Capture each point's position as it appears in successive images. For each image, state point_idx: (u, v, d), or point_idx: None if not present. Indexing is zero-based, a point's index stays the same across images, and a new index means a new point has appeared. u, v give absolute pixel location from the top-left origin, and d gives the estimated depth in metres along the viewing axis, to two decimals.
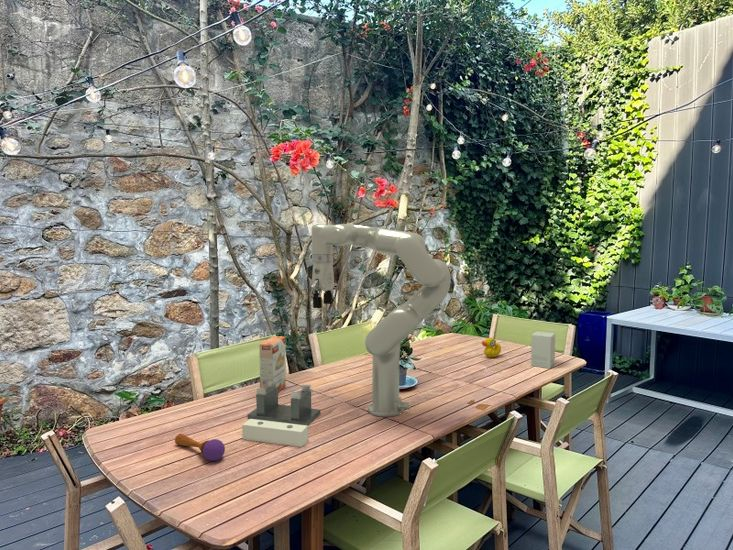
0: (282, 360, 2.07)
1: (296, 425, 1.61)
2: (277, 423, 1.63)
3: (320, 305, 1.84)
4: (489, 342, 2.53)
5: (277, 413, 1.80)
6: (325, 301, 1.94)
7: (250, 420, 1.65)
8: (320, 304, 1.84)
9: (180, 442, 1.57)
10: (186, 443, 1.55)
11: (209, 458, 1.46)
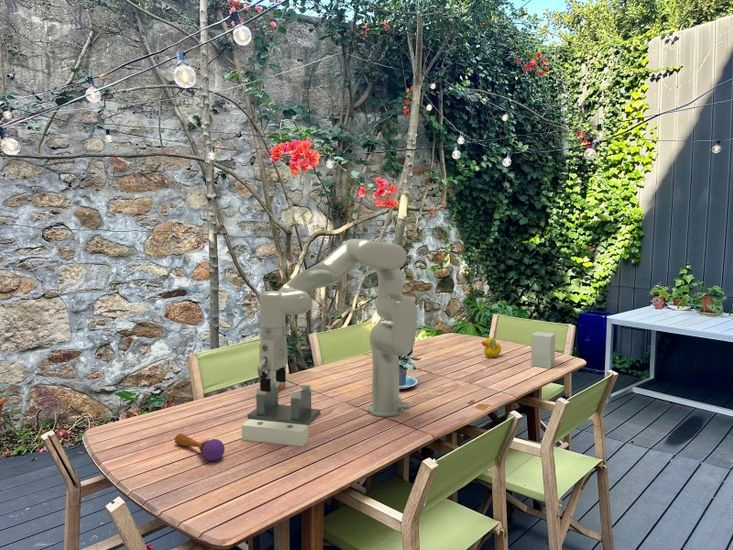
0: None
1: (296, 425, 1.62)
2: (277, 423, 1.63)
3: (269, 388, 1.55)
4: (489, 342, 2.53)
5: (277, 413, 1.80)
6: (277, 379, 1.65)
7: (249, 420, 1.65)
8: (269, 387, 1.55)
9: (180, 442, 1.57)
10: (186, 443, 1.55)
11: (209, 458, 1.46)
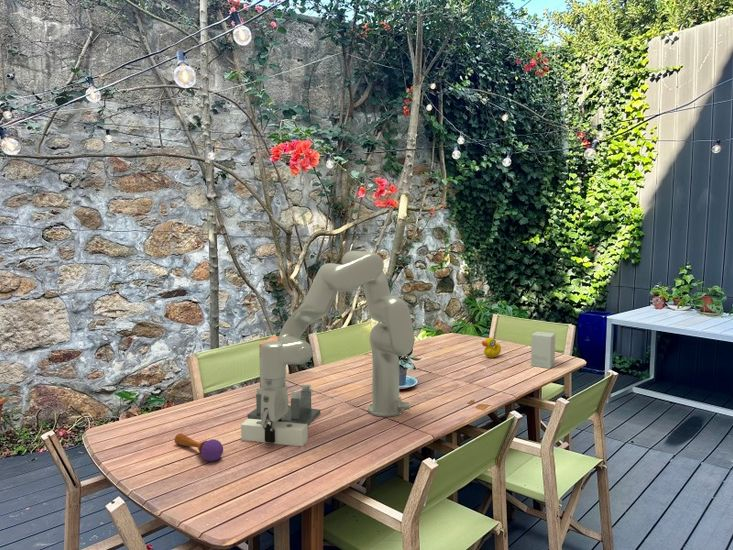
0: None
1: (296, 424, 1.62)
2: (276, 422, 1.63)
3: (273, 439, 1.58)
4: (489, 342, 2.53)
5: None
6: None
7: (248, 420, 1.65)
8: (273, 438, 1.58)
9: (179, 442, 1.57)
10: (185, 443, 1.55)
11: (207, 458, 1.46)
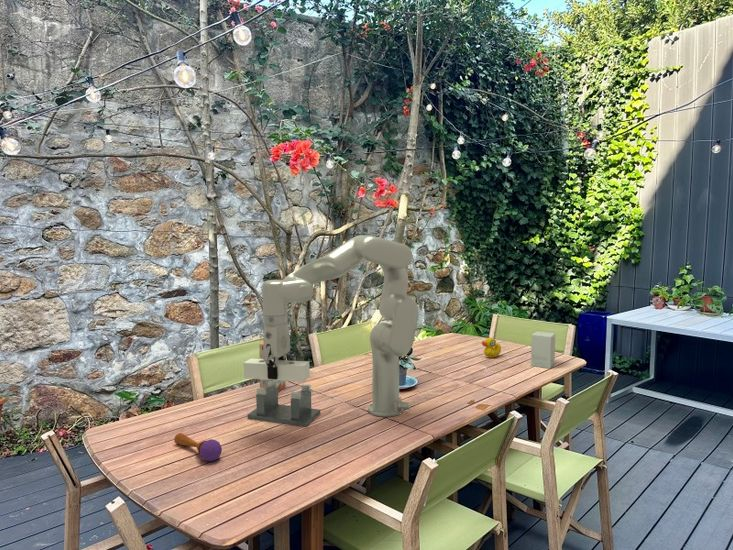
0: None
1: (297, 361, 1.64)
2: (278, 360, 1.66)
3: (276, 376, 1.61)
4: (489, 342, 2.53)
5: (277, 413, 1.80)
6: None
7: (251, 359, 1.67)
8: (275, 375, 1.61)
9: (179, 441, 1.57)
10: (185, 443, 1.56)
11: (205, 458, 1.46)
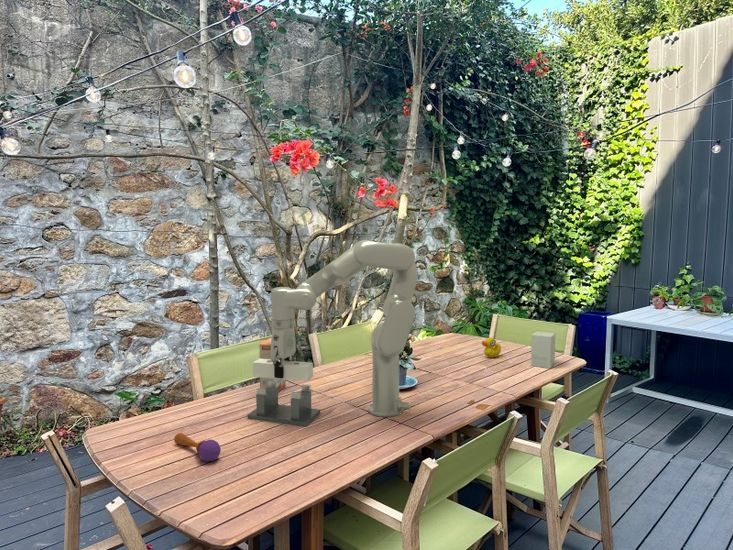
0: None
1: (302, 362, 1.79)
2: (284, 361, 1.81)
3: (282, 375, 1.76)
4: (489, 342, 2.53)
5: (277, 413, 1.80)
6: None
7: (259, 359, 1.82)
8: (282, 374, 1.76)
9: (179, 441, 1.57)
10: (184, 442, 1.56)
11: (204, 458, 1.46)
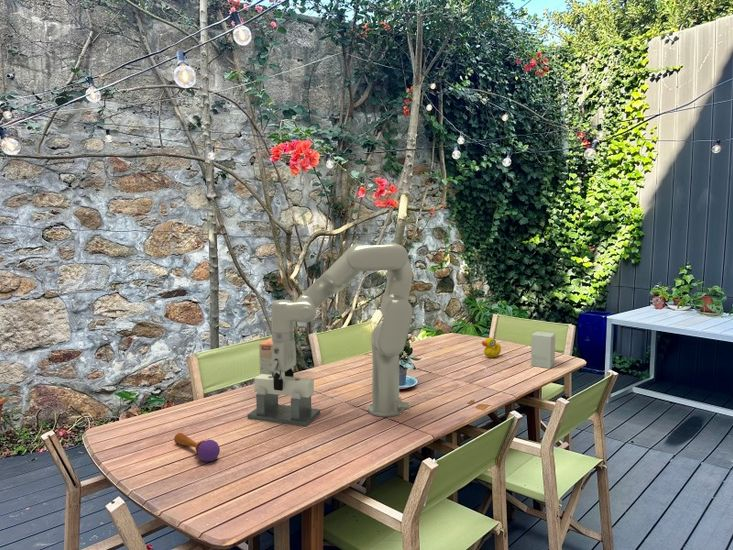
0: None
1: (303, 378, 1.79)
2: (286, 377, 1.81)
3: (281, 387, 1.75)
4: (489, 342, 2.53)
5: (277, 413, 1.80)
6: None
7: (261, 375, 1.83)
8: (281, 386, 1.75)
9: (179, 441, 1.57)
10: (184, 442, 1.56)
11: (203, 458, 1.46)
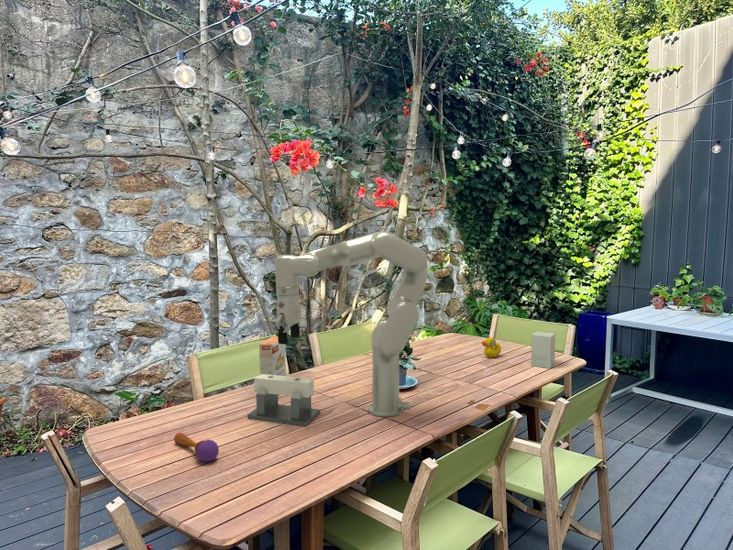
0: (282, 360, 2.07)
1: (303, 378, 1.79)
2: (286, 377, 1.81)
3: (286, 341, 1.74)
4: (489, 342, 2.53)
5: (277, 413, 1.80)
6: (292, 335, 1.84)
7: (261, 375, 1.83)
8: (285, 340, 1.74)
9: (178, 441, 1.57)
10: (184, 442, 1.56)
11: (202, 459, 1.46)
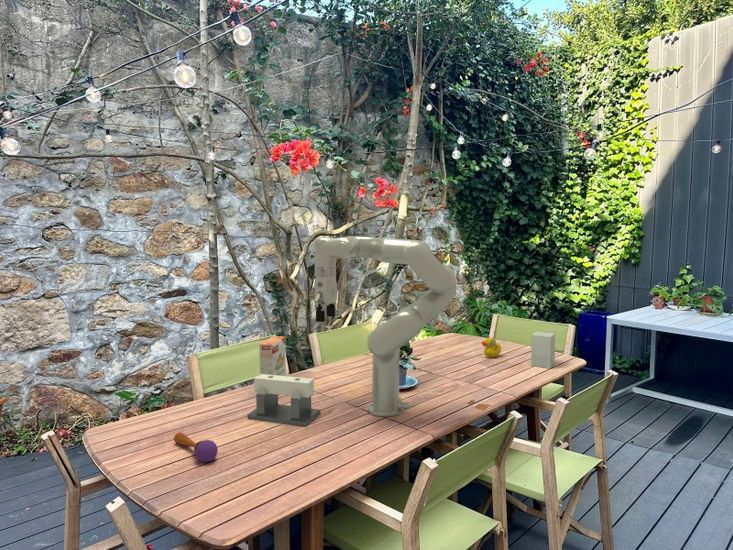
0: (282, 360, 2.07)
1: (303, 378, 1.79)
2: (286, 377, 1.81)
3: (323, 319, 1.82)
4: (489, 342, 2.53)
5: (277, 413, 1.80)
6: (328, 314, 1.92)
7: (261, 375, 1.83)
8: (323, 318, 1.82)
9: (178, 441, 1.57)
10: (183, 442, 1.56)
11: (201, 459, 1.46)
